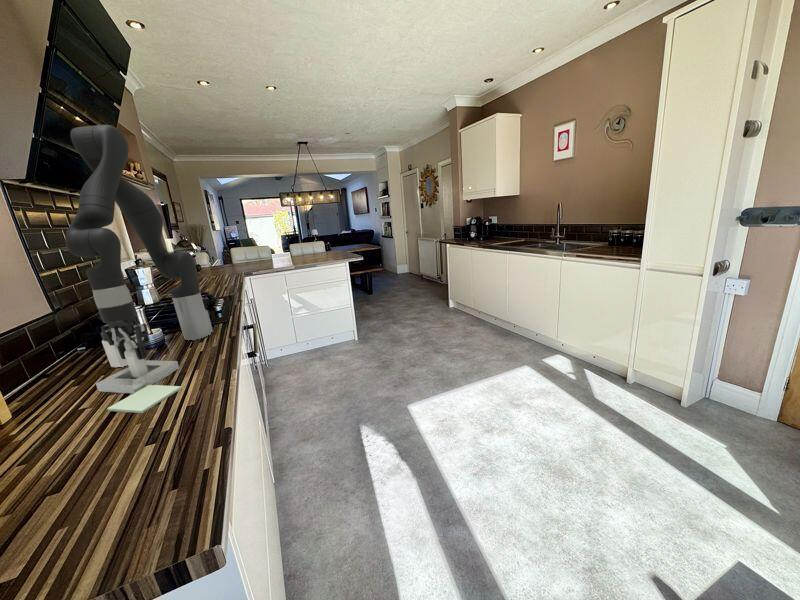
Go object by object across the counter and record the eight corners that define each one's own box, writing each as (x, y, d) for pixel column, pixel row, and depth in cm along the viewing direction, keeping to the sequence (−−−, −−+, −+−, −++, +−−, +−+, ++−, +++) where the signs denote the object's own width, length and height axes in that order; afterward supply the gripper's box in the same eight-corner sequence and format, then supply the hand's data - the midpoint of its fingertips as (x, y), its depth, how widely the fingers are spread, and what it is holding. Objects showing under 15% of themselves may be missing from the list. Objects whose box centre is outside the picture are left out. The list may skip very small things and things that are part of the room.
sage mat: (149, 386, 90) (149, 384, 90) (181, 388, 87) (181, 386, 87) (107, 410, 79) (106, 408, 79) (142, 413, 77) (141, 411, 77)
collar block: (145, 367, 103) (143, 360, 102) (180, 368, 100) (178, 361, 99) (97, 391, 90) (94, 383, 89) (136, 393, 87) (133, 385, 86)
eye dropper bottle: (129, 381, 91) (115, 342, 88) (132, 373, 96) (119, 336, 93) (148, 376, 93) (135, 338, 90) (150, 369, 98) (138, 332, 95)
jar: (112, 371, 103) (99, 336, 99) (110, 363, 108) (98, 330, 105) (146, 360, 108) (135, 327, 105) (143, 354, 114) (132, 322, 111)
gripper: (148, 298, 90) (166, 352, 95) (109, 299, 94) (128, 352, 98) (120, 306, 83) (141, 365, 88) (80, 307, 87) (102, 363, 91)
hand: (134, 357), depth 93 cm, fingers closed on eye dropper bottle, 5 cm apart
